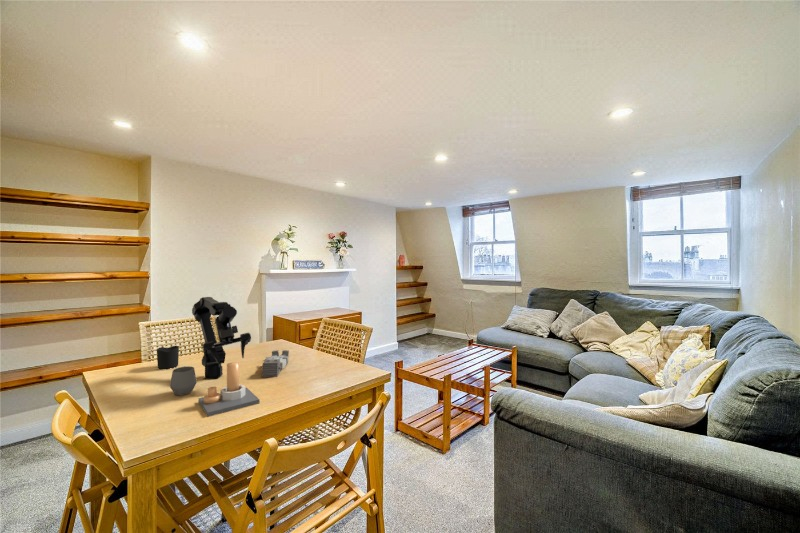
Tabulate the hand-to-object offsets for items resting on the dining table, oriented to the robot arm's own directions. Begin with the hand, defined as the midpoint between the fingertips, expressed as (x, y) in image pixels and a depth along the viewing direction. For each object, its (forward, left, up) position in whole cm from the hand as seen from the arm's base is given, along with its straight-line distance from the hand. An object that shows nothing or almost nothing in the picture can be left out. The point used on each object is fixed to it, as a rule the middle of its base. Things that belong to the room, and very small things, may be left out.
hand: (231, 361), depth 146 cm
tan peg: (+4, -10, -11) cm, 16 cm away
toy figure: (+11, +31, -13) cm, 35 cm away
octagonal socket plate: (+4, -13, -13) cm, 18 cm away
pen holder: (-44, +35, -13) cm, 57 cm away
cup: (-19, -1, -13) cm, 23 cm away
